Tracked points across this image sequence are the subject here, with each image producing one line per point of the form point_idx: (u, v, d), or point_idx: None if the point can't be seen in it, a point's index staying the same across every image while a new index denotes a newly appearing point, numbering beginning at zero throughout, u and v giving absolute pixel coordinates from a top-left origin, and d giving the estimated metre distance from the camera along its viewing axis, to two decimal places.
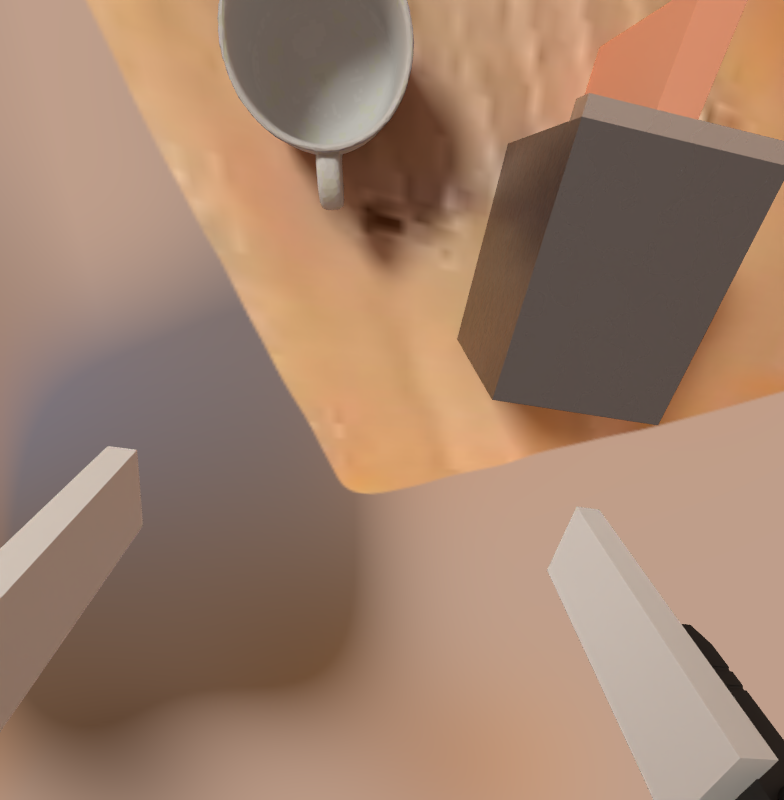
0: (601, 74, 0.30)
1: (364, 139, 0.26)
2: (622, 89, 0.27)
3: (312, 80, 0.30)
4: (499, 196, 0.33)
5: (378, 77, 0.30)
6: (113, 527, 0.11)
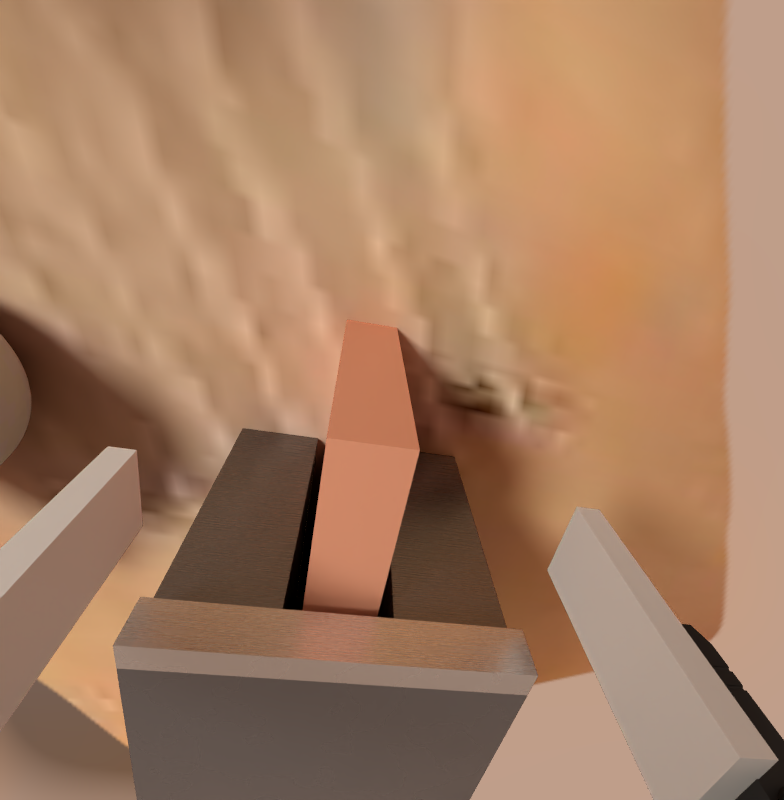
0: None
1: None
2: None
3: None
4: None
5: None
6: (113, 527, 0.11)
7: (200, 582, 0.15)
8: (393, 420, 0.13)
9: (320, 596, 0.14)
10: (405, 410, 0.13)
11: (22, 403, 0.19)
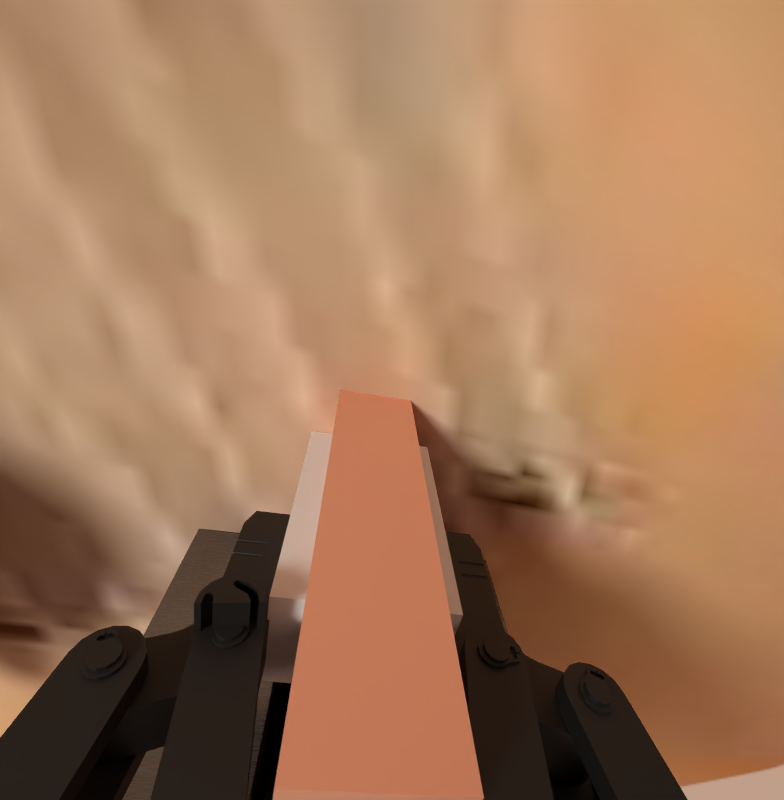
0: None
1: None
2: None
3: None
4: None
5: None
6: None
7: None
8: (419, 675, 0.06)
9: None
10: (439, 629, 0.07)
11: None
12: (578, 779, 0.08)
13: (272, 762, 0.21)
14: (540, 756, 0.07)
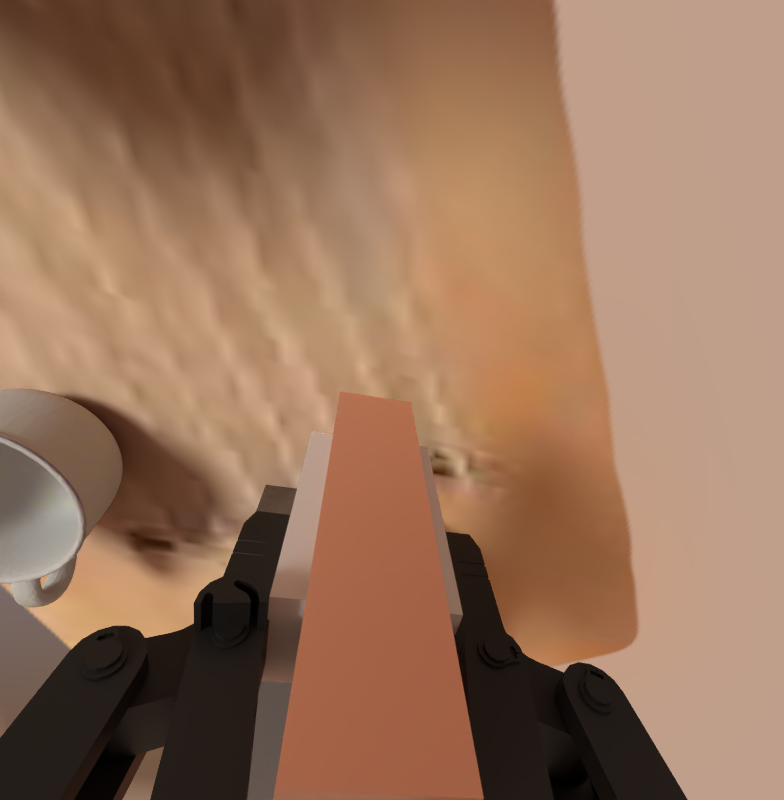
0: None
1: (51, 572, 0.25)
2: None
3: None
4: None
5: None
6: None
7: None
8: (418, 676, 0.06)
9: None
10: (439, 630, 0.07)
11: (119, 473, 0.28)
12: (578, 779, 0.08)
13: None
14: (540, 756, 0.07)
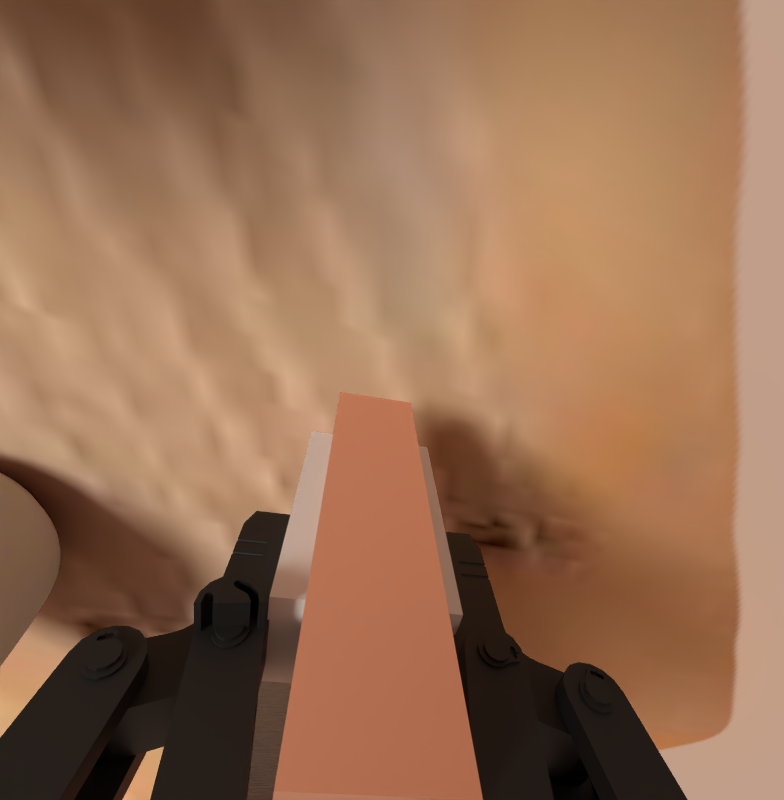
0: None
1: None
2: None
3: None
4: None
5: None
6: None
7: None
8: (418, 678, 0.06)
9: None
10: (439, 631, 0.07)
11: (53, 564, 0.20)
12: (578, 779, 0.08)
13: None
14: (540, 756, 0.07)
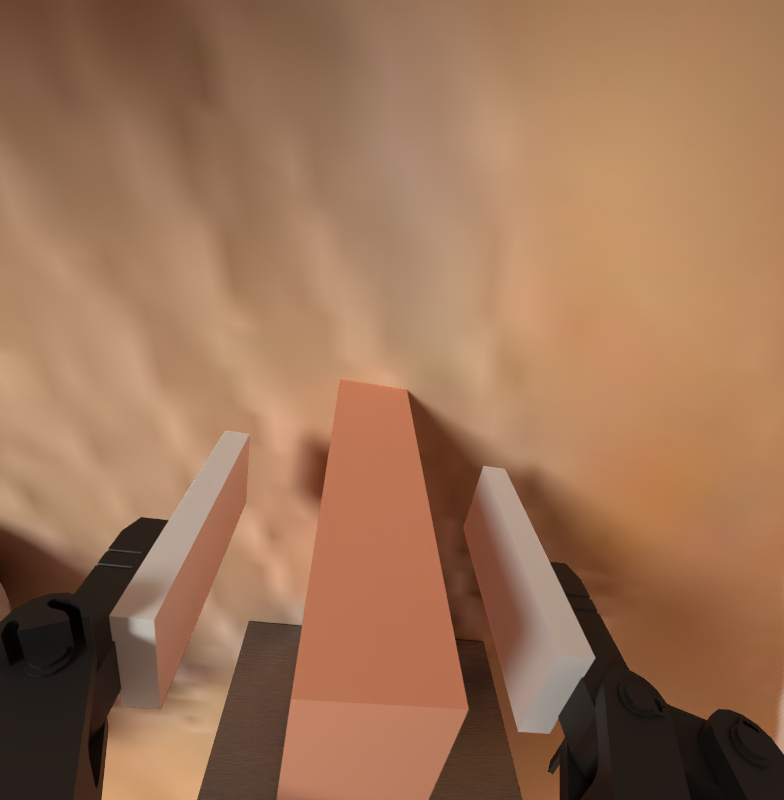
0: None
1: None
2: None
3: None
4: None
5: None
6: (235, 499, 0.13)
7: None
8: (413, 617, 0.07)
9: None
10: (432, 581, 0.08)
11: None
12: None
13: None
14: None
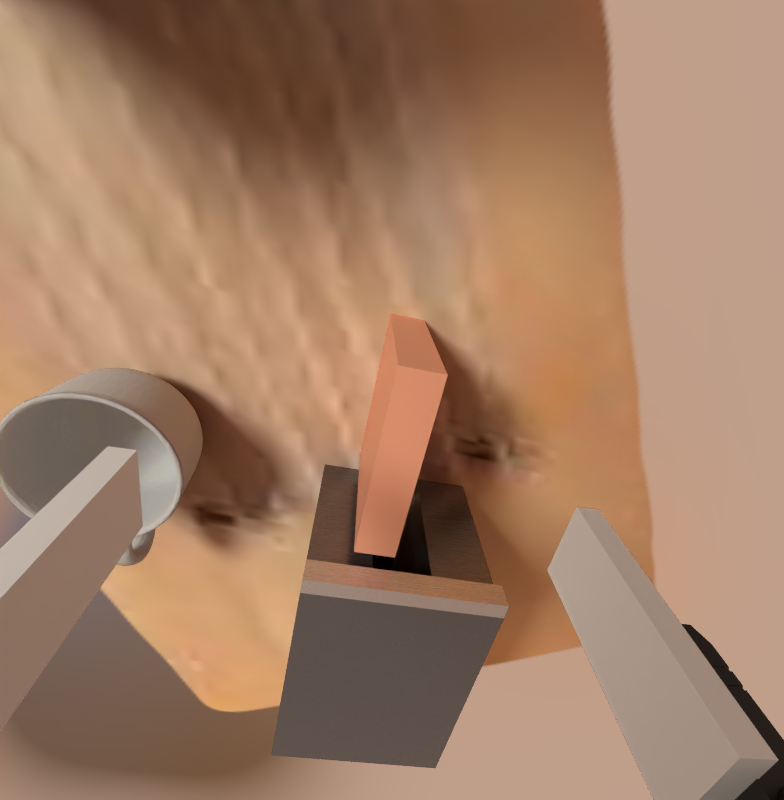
0: (385, 347, 0.30)
1: (146, 532, 0.28)
2: (381, 392, 0.27)
3: (128, 429, 0.33)
4: None
5: None
6: (113, 527, 0.11)
7: (327, 555, 0.27)
8: (431, 362, 0.22)
9: (383, 470, 0.23)
10: (437, 359, 0.23)
11: (201, 448, 0.32)
12: None
13: None
14: None
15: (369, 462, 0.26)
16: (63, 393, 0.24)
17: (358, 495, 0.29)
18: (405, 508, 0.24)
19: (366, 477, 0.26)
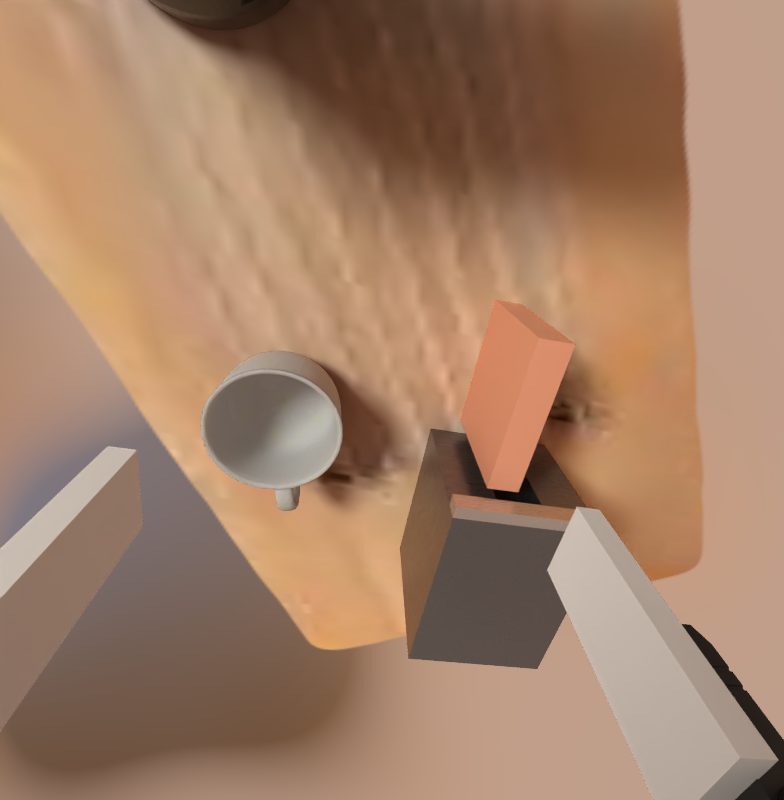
0: (494, 327, 0.36)
1: (309, 481, 0.36)
2: (501, 362, 0.33)
3: (275, 402, 0.40)
4: (424, 469, 0.43)
5: (325, 400, 0.39)
6: (113, 527, 0.11)
7: (461, 493, 0.34)
8: (557, 336, 0.29)
9: (518, 420, 0.30)
10: (558, 333, 0.30)
11: None
12: None
13: None
14: None
15: (495, 418, 0.33)
16: (262, 369, 0.31)
17: (475, 448, 0.36)
18: (531, 451, 0.31)
19: (492, 430, 0.33)
